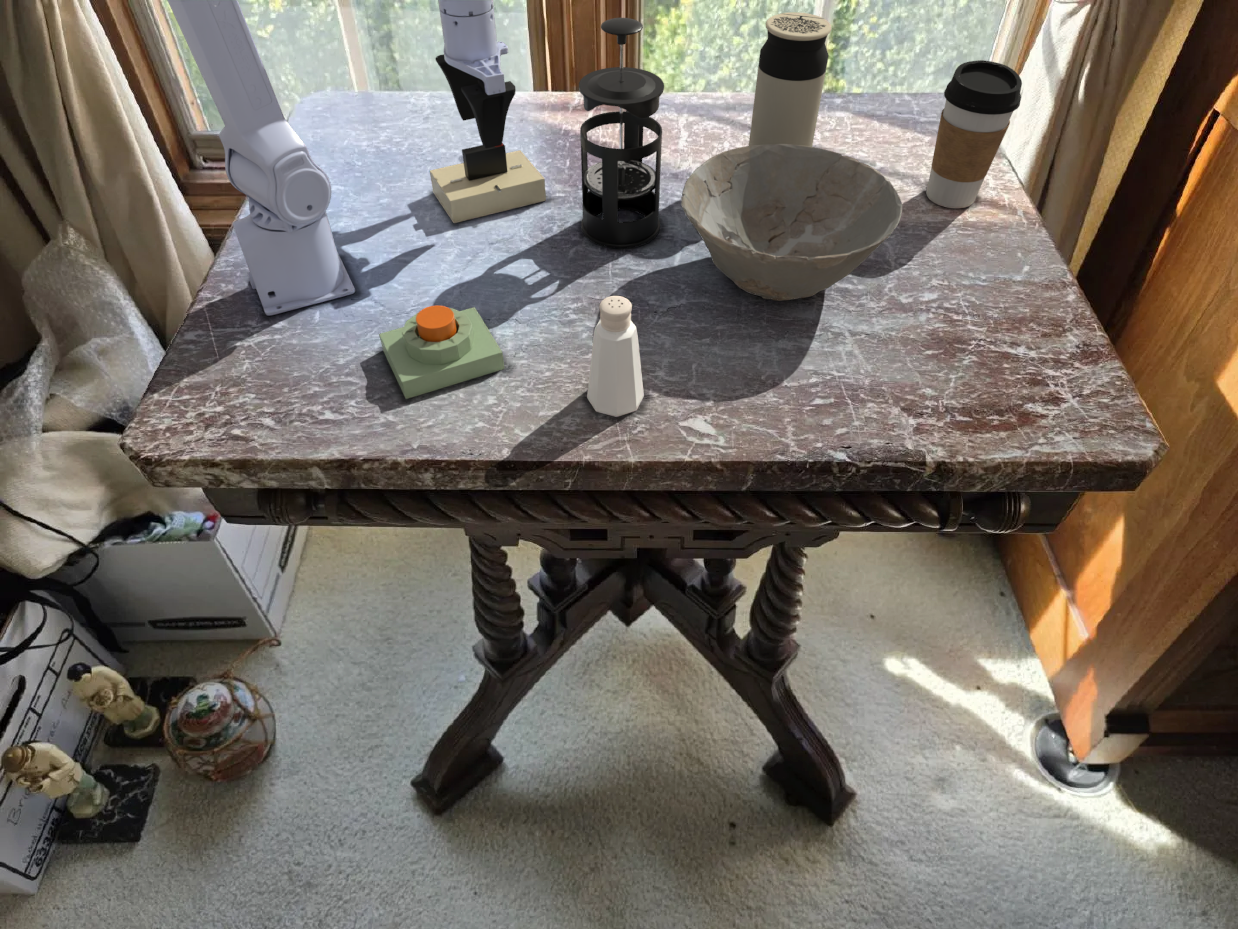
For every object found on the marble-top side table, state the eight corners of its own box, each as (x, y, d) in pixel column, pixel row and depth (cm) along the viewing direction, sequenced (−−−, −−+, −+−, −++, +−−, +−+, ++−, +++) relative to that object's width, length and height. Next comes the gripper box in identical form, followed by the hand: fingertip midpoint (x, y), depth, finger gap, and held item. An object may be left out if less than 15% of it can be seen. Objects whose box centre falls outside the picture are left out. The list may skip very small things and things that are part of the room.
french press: (647, 257, 97) (654, 48, 80) (568, 244, 98) (559, 37, 82) (671, 205, 104) (682, 4, 87) (598, 194, 106) (595, -5, 89)
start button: (425, 347, 80) (422, 332, 79) (414, 325, 82) (411, 311, 81) (461, 336, 81) (459, 322, 80) (449, 315, 83) (447, 301, 82)
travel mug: (796, 191, 107) (822, 42, 94) (737, 176, 109) (754, 29, 96) (815, 163, 112) (842, 17, 98) (757, 150, 114) (776, 6, 101)
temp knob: (469, 180, 102) (465, 152, 100) (465, 175, 103) (461, 147, 100) (507, 171, 104) (505, 143, 101) (503, 166, 105) (500, 138, 102)
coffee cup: (978, 180, 109) (1019, 60, 98) (991, 216, 103) (1036, 92, 92) (911, 177, 109) (945, 57, 98) (920, 212, 104) (957, 89, 93)
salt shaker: (642, 378, 83) (645, 284, 75) (645, 417, 79) (649, 322, 71) (586, 379, 83) (583, 285, 74) (587, 418, 79) (584, 324, 71)
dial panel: (455, 226, 101) (451, 202, 99) (431, 190, 107) (427, 166, 104) (548, 203, 105) (546, 179, 102) (520, 169, 110) (518, 146, 108)
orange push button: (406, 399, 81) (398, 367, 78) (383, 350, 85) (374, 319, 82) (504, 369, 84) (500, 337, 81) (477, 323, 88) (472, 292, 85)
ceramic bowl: (889, 238, 100) (911, 158, 92) (866, 360, 85) (890, 276, 77) (705, 207, 104) (712, 128, 97) (653, 317, 89) (657, 234, 82)
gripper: (527, 24, 86) (536, 150, 96) (478, -21, 95) (491, 99, 105) (461, 35, 84) (477, 164, 94) (418, -11, 93) (437, 111, 103)
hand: (481, 131), depth 100 cm, fingers open, 7 cm apart
